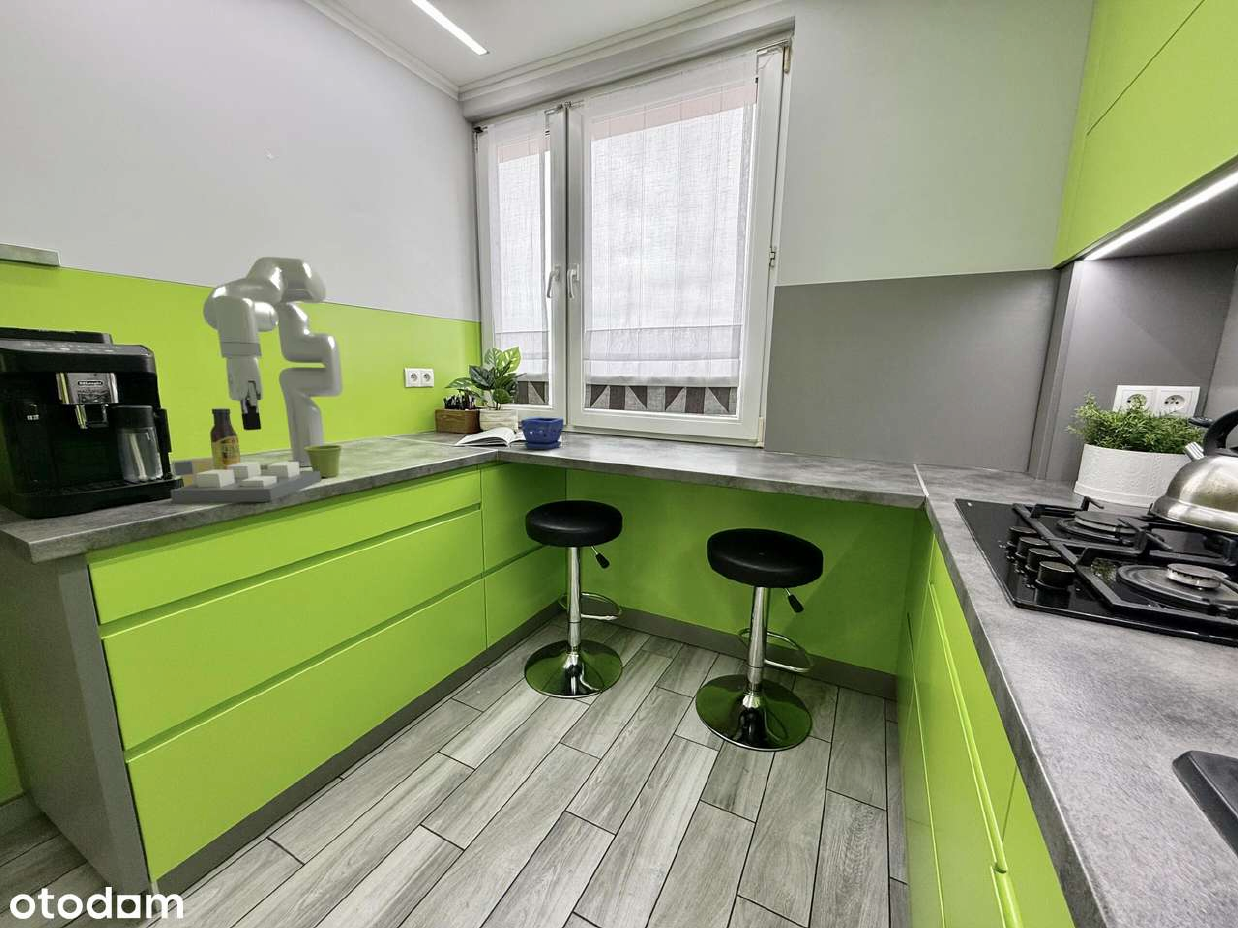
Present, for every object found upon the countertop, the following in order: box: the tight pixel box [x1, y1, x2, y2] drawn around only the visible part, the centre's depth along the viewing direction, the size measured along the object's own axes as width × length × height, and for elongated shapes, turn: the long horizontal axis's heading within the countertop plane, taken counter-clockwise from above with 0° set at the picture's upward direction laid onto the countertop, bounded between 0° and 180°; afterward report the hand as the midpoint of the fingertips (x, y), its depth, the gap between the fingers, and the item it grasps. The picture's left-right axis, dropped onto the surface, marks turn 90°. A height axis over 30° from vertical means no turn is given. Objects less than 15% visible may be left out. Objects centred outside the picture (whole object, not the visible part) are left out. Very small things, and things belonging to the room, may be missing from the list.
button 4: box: [266, 461, 301, 478], centre depth 128 cm, size 5×5×4 cm
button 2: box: [227, 461, 262, 478], centre depth 128 cm, size 5×5×4 cm
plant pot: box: [305, 444, 343, 479], centre depth 141 cm, size 9×9×9 cm
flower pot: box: [520, 417, 564, 451], centre depth 196 cm, size 13×13×12 cm
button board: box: [169, 470, 322, 504], centre depth 123 cm, size 22×22×3 cm
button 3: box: [241, 476, 277, 487], centre depth 119 cm, size 5×5×4 cm
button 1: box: [196, 470, 235, 487], centre depth 118 cm, size 5×5×4 cm
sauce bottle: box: [209, 407, 242, 470], centre depth 139 cm, size 6×6×20 cm
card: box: [170, 456, 214, 486], centre depth 125 cm, size 1×8×8 cm, turn 134°
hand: (252, 429), depth 116 cm, fingers closed
